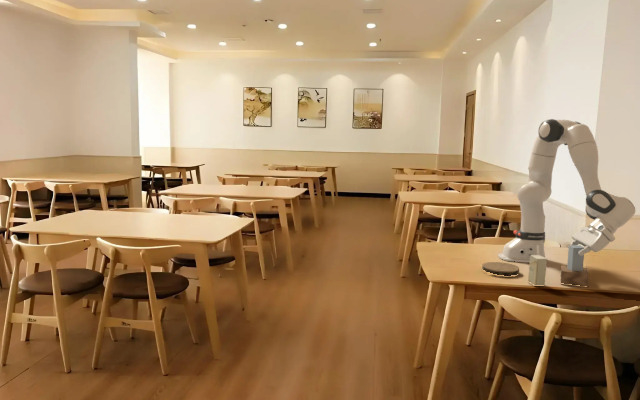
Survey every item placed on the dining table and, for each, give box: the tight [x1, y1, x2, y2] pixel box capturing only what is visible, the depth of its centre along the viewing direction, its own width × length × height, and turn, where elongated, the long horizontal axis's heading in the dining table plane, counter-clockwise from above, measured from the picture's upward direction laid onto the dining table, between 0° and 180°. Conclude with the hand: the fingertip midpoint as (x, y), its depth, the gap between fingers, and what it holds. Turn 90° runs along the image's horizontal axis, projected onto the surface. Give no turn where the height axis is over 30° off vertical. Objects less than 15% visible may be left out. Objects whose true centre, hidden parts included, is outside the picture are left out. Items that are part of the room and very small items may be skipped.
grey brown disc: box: [481, 261, 520, 276], centre depth 229 cm, size 16×16×3 cm
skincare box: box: [527, 255, 548, 286], centre depth 209 cm, size 6×4×12 cm
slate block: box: [566, 244, 585, 271], centre depth 212 cm, size 4×4×10 cm
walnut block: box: [560, 265, 590, 287], centre depth 213 cm, size 10×10×6 cm
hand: (574, 251), depth 212 cm, fingers open, 8 cm apart
